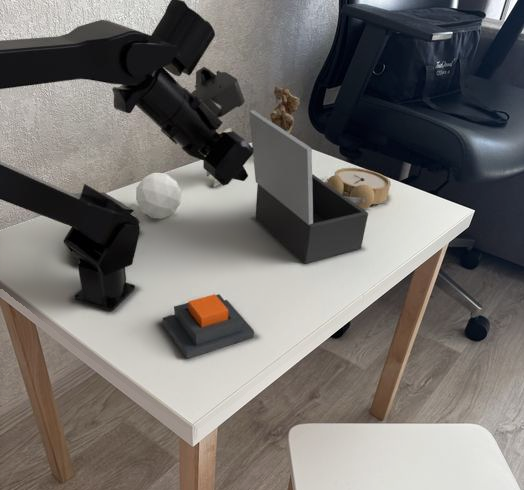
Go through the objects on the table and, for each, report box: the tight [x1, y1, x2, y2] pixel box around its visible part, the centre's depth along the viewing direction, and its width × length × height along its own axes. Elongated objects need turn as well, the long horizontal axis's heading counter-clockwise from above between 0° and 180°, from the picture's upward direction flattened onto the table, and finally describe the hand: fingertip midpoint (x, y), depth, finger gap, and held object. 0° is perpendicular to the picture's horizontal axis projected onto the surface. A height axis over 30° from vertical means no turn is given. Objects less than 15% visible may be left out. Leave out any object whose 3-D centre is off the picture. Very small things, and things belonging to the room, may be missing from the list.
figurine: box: [269, 86, 301, 134], centre depth 120 cm, size 7×6×15 cm
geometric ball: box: [135, 171, 182, 219], centre depth 100 cm, size 8×8×8 cm
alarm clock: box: [325, 167, 392, 210], centre depth 112 cm, size 11×5×15 cm
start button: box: [187, 293, 228, 328], centre depth 76 cm, size 4×4×2 cm
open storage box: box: [254, 173, 369, 265], centre depth 99 cm, size 12×17×7 cm
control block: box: [161, 293, 255, 360], centre depth 78 cm, size 10×8×3 cm
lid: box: [248, 109, 313, 225], centre depth 90 cm, size 12×17×1 cm
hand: (238, 172), depth 86 cm, fingers open, 4 cm apart
